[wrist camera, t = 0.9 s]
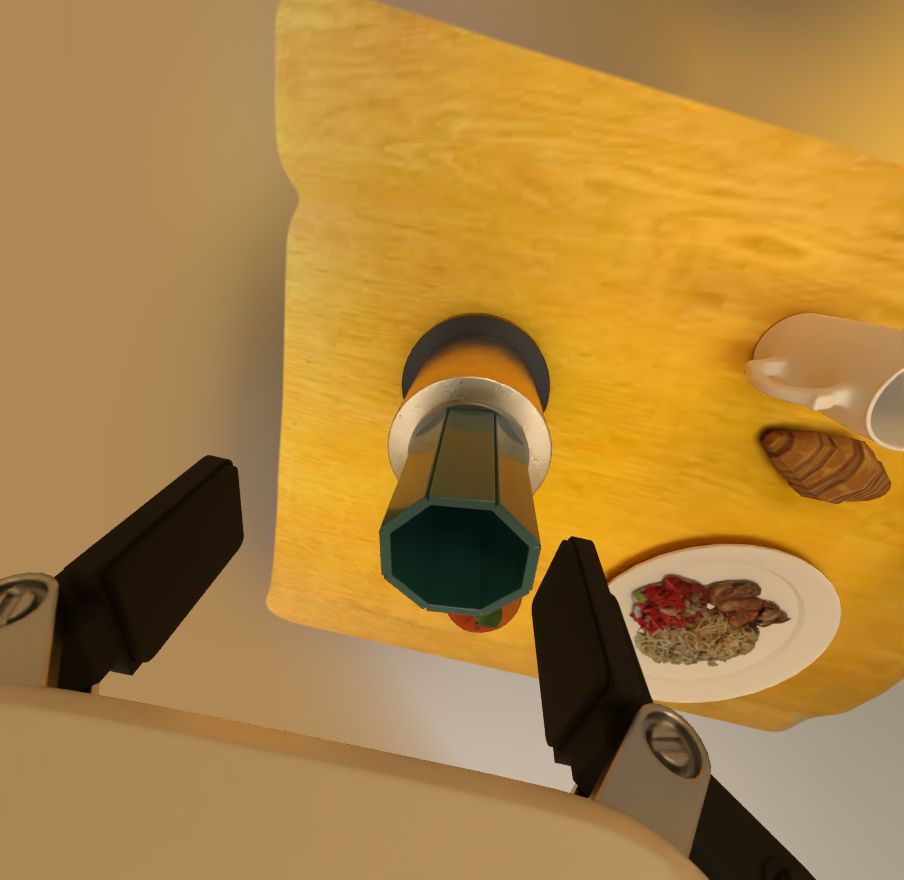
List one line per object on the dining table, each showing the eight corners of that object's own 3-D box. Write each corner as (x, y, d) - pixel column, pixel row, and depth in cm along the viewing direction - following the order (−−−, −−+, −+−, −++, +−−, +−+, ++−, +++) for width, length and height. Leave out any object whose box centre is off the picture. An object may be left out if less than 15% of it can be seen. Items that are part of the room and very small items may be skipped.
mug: (849, 303, 31) (1038, 337, 20) (824, 382, 34) (977, 446, 23) (714, 320, 32) (824, 359, 22) (702, 394, 35) (793, 459, 25)
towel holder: (485, 278, 32) (482, 301, 20) (577, 396, 36) (621, 474, 24) (375, 378, 37) (320, 445, 25) (467, 472, 42) (457, 568, 29)
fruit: (429, 564, 49) (416, 636, 40) (470, 517, 44) (465, 586, 36) (491, 596, 50) (491, 672, 42) (535, 554, 46) (546, 627, 37)
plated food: (735, 707, 57) (749, 732, 54) (544, 662, 56) (547, 685, 53) (890, 570, 43) (920, 595, 40) (637, 507, 42) (649, 527, 39)
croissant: (731, 458, 38) (763, 487, 34) (785, 402, 35) (828, 425, 30) (838, 507, 40) (882, 541, 35) (899, 457, 36) (956, 487, 32)
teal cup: (473, 387, 22) (464, 468, 14) (543, 465, 24) (570, 573, 16) (393, 452, 25) (348, 551, 17) (463, 518, 27) (452, 633, 19)
